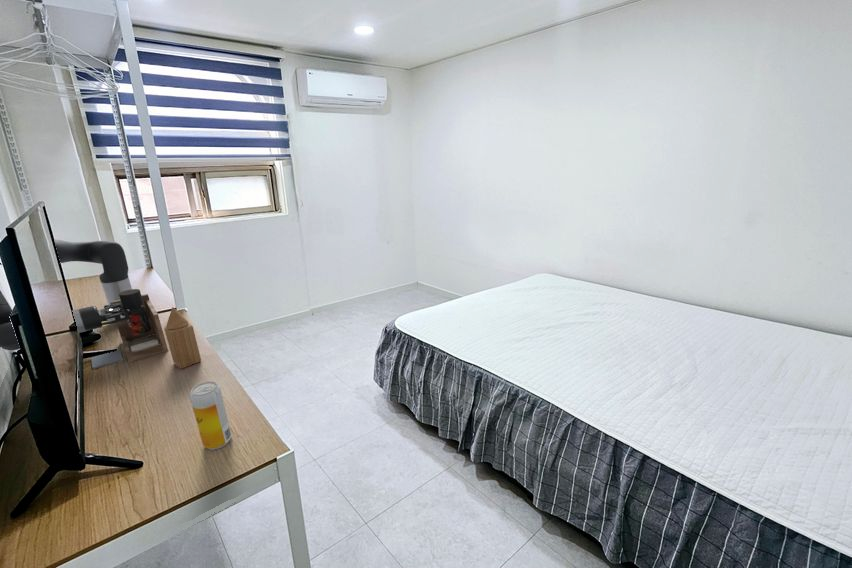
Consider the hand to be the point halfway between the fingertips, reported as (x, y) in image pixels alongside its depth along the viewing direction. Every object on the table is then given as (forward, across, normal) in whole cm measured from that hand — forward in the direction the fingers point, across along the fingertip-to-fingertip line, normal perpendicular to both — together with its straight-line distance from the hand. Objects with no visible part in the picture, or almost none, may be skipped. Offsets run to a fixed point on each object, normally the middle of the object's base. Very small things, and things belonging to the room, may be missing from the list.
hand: (142, 306), depth 138 cm
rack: (-3, 0, +15) cm, 15 cm away
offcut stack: (-3, -6, +15) cm, 16 cm away
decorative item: (+6, -25, +15) cm, 30 cm away
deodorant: (-2, 0, +9) cm, 10 cm away
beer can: (+3, -73, +14) cm, 74 cm away
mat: (-14, -3, +15) cm, 20 cm away
